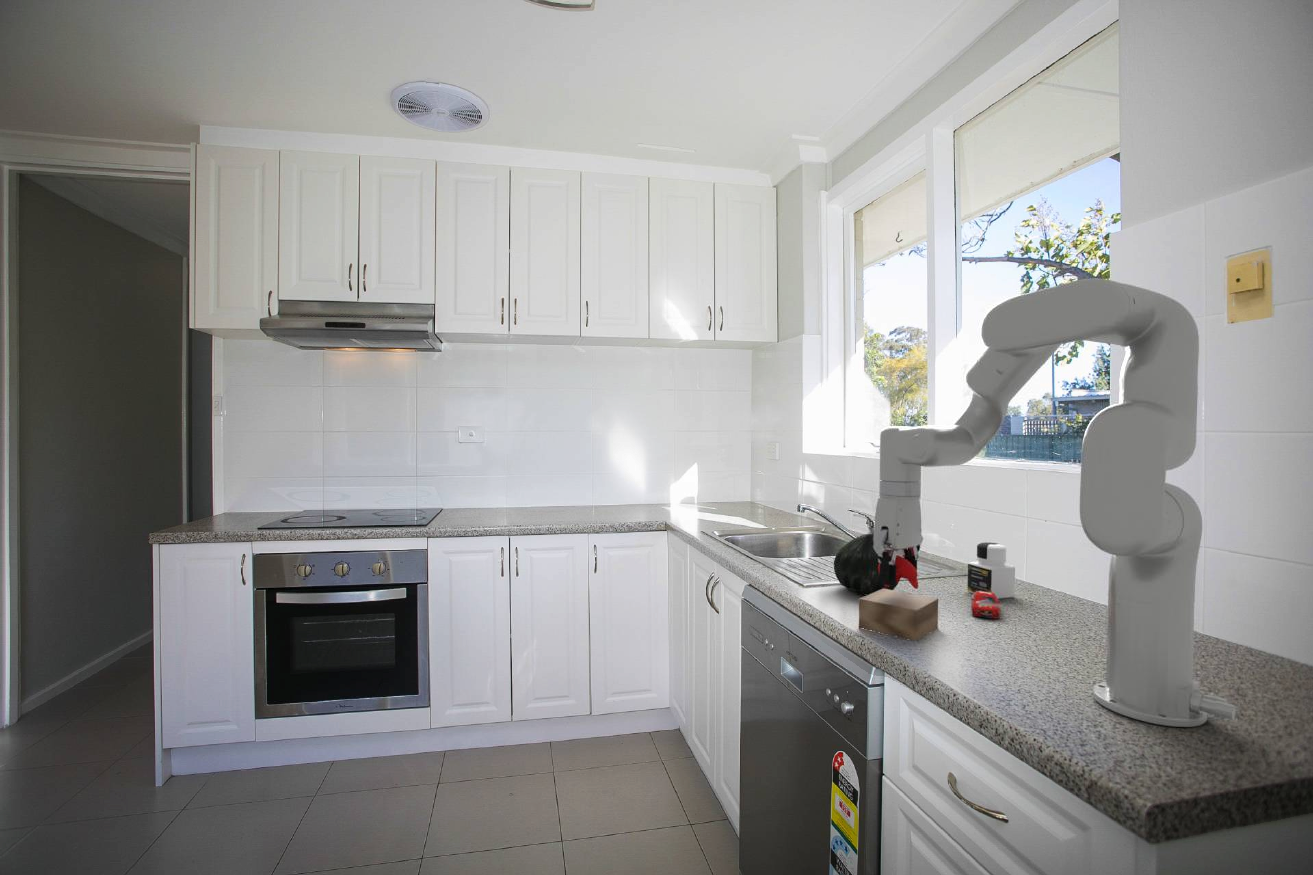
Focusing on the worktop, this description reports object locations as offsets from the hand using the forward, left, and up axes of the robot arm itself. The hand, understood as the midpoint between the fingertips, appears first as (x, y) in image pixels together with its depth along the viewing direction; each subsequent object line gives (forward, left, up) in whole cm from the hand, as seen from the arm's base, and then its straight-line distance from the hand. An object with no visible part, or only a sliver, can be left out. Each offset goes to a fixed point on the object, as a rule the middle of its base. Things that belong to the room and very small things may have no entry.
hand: (898, 580), depth 124 cm
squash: (+19, -19, -9) cm, 28 cm away
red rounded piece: (0, 0, -1) cm, 1 cm away
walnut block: (0, 0, -9) cm, 9 cm away
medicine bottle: (0, -40, -9) cm, 41 cm away
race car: (-5, -25, -10) cm, 27 cm away
